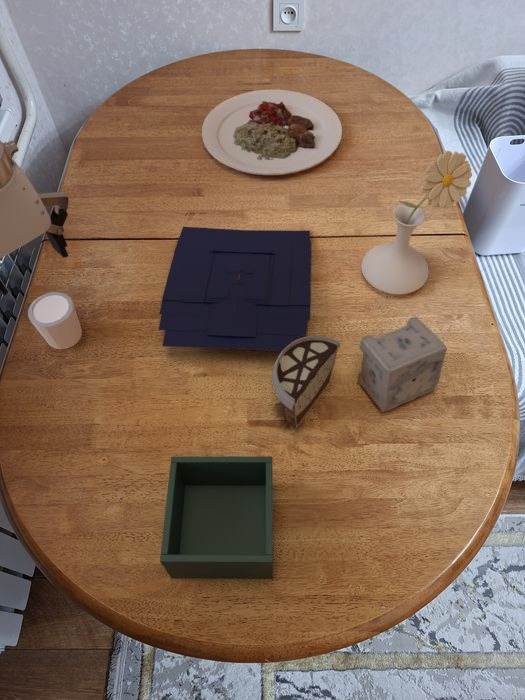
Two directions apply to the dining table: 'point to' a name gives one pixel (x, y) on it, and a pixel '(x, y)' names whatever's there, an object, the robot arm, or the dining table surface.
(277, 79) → the dining table surface
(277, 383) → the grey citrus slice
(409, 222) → the flower in vase
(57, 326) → the light grey rounded piece
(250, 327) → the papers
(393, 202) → the dining table surface
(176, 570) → the open square box
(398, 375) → the incense holder
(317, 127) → the plated food
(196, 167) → the dining table surface
